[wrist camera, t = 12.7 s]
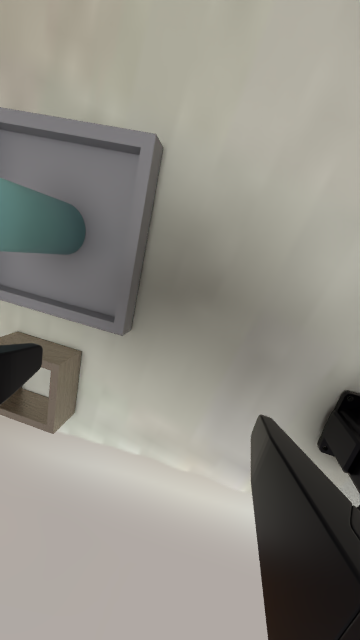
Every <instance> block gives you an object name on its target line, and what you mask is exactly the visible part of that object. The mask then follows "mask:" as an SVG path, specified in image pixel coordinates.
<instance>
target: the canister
mask: <svg viewBox="0 0 360 640" xmlns="http://www.w3.org/2000/svg"><path fill="white" fill-rule="evenodd" d="M85 233H86V229H85V223H84V220H83V218H82V215H81V214H80V212H79V211H78V210H77V209H76V208H75V207H74V206H73V205H71V204H69V203H66V202H64V201H61V200H58V199H56V198H53V197H50V196H48V195H45V194H43V193H40V192H37V191H35V190H32V189H29V188H27V187H24V186H21V185H19V184H16V183H13V182H11V181H8V180H5V179H3V178H0V251H3V252H23V253H43V254H62V255H68V254H72V253H74V252H76V251H77V250H78V249H79V248H80V247H81V246H82V244H83V242H84V239H85Z"/></svg>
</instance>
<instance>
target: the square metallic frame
mask: <svg viewBox="0 0 360 640" xmlns="http://www.w3.org/2000/svg"><path fill="white" fill-rule="evenodd" d="M24 343H35V344H38V345H41V346H42V348H43V357H42V366H41V367H42V368H45V369H48V370H51V377H50V390H49V398H47V397H45V396H42V395H39V394H36V393H33V392H30V391H27V390H24V389H22V386H21V387H20V388H19V389H18V390H17V391H16V392H15V393H14V394H13V395H12V396H11V397H9V398H8V399H7V400H6V401H5V402H3V403H2V404H1V405H0V415H3V416H6V417H8V418H11V419H14V420H16V421H19V422H22V423H25V424H27V425H30V426H33V427H36V428H38V429H41V430H44V431H46V432H49V433H52V434H54V433H55V432H56V431H57V430H58V429H59V428H60V427H61V426H62V425H63V424H64V423H65V422H66V421H67V420H68V419H69V418H70V417H71V416H72V415H73V414H74V413H75V406H76V397H77V389H78V380H79V371H80V363H81V354H82V352H81V351H78V350H75V349H72V348H68V347H65V346H62V345H59V344H56V343H52V342H49V341H46V340H43V339H40V338H36V337H33V336H30V335H27V334H24V333H20V332H15V333H12V334H9V335H5V336H2V337H0V345H10V344H24Z"/></svg>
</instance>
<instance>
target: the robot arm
mask: <svg viewBox="0 0 360 640" xmlns="http://www.w3.org/2000/svg"><path fill="white" fill-rule="evenodd" d="M42 357H43V348H42V346H41V345H38V344H35V343H24V344H10V345H0V405H1V404H2V403H3V402H5V401H6V400H7V399H8V398H9V397H11V396H12V395H13V394H14V393H15V392H16V391H17V390H18V389H19V388H20V387H21V386H22V385H23V384H24V383H25V382H27V381H28V380H29V379H30V378H31V377H32V376H33V375H34V374H35V373H36V372H37V371H38V370H39V369H40V368H41V366H42ZM349 396H351V398H350V399H347V398H348V397H349ZM324 446H326V447H324ZM323 447H324V448H323ZM318 448H319V450H320V451H321V452H323V453H326V454H329V455H332V456H335V457H336V459H337V461H338V463H339V464H340V466H341V468H342V470H343V471H344V472H345V473H348V474H349V476H350V478H351V480H352V481H353V483H354V485H355V486H356V488H357V490H358V491H359V493H360V394H357V393H354V392H350V391H347V392H344V393H343V394H342V396H341V398H340V400H339V402H338V404H337V406H336V408H335V410H334V411H333V412H332V414H331V416H330V418H329V420H328V422H327V424H326V426H325V428H324V430H323V432H322V436H321V438H320V440H319V442H318ZM251 487H252V496H253V505H254V514H255V524H256V533H257V542H258V551H259V560H260V568H261V577H262V587H263V597H264V605H265V615H266V624H267V632H268V640H360V505H359V506H358V507H357V508H356V507H355V506H352V503H351V502H350V501H349V499H348V498H347V497H346V496H345V495H344V494H343V493H342V492H341V491H340V490H339V489H338V488H337V487H336V486H335V485H334V484H333V483H332V482H331V480H330V479H329V478H328V477H327V476H326V475H325V474H324V473H323V472H322V471H321V470H320V469H319V468H318V467H317V466H316V465H315V464H314V463H313V461H312V460H311V459H310V458H309V457H308V456H307V455H306V454H305V453H304V452H303V451H302V450H301V449H300V448H299V447H298V446H297V445H296V444H295V442H294V441H293V440H292V439H291V438H290V437H289V436H288V435H287V434H286V433H285V432H284V431H283V430H282V429H281V428H280V427H279V426H278V425H277V424H276V422H275V421H274V420H273V419H272V418H270V417H267V416H264V415H259V416H258V418H257V421H256V423H255V426H254V429H253V431H252V434H251Z"/></svg>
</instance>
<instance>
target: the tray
mask: <svg viewBox="0 0 360 640" xmlns="http://www.w3.org/2000/svg"><path fill="white" fill-rule="evenodd" d="M162 152H163V146H162V144H161V142H160V140H159V139H158V137H157V135H156V134H153V133H147V132H141V131H136V130H130V129H124V128H118V127H112V126H106V125H101V124H95V123H89V122H83V121H77V120H71V119H66V118H60V117H54V116H48V115H42V114H36V113H30V112H25V111H19V110H13V109H7V108H1V107H0V178H3V179H5V180H8V181H11V182H13V183H16V184H19V185H21V186H24V187H27V188H29V189H32V190H35V191H37V192H40V193H43V194H45V195H48V196H50V197H53V198H56V199H58V200H61V201H64V202H66V203H69V204H71V205H73V206H74V207H75V208H76V209H77V210H78V211H79V212H80V214H81V215H82V218H83V220H84V223H85V229H86V233H85V239H84V242H83V244H82V246H81V247H80V248H79V249H78V250H77V251H76V252H74V253H72V254H68V255H62V254H43V253H23V252H3V251H0V300H2V301H6V302H9V303H13V304H16V305H19V306H23V307H26V308H30V309H33V310H36V311H40V312H43V313H47V314H50V315H53V316H57V317H60V318H64V319H67V320H70V321H74V322H77V323H81V324H84V325H87V326H91V327H94V328H97V329H101V330H104V331H108V332H111V333H114V334H118V335H121V336H123V335H124V334H126V333H127V332H129V331H130V330H131V327H132V321H133V316H134V310H135V304H136V299H137V293H138V287H139V282H140V276H141V270H142V265H143V259H144V253H145V248H146V242H147V237H148V231H149V225H150V220H151V214H152V208H153V203H154V197H155V191H156V186H157V180H158V174H159V169H160V163H161V157H162Z"/></svg>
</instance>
